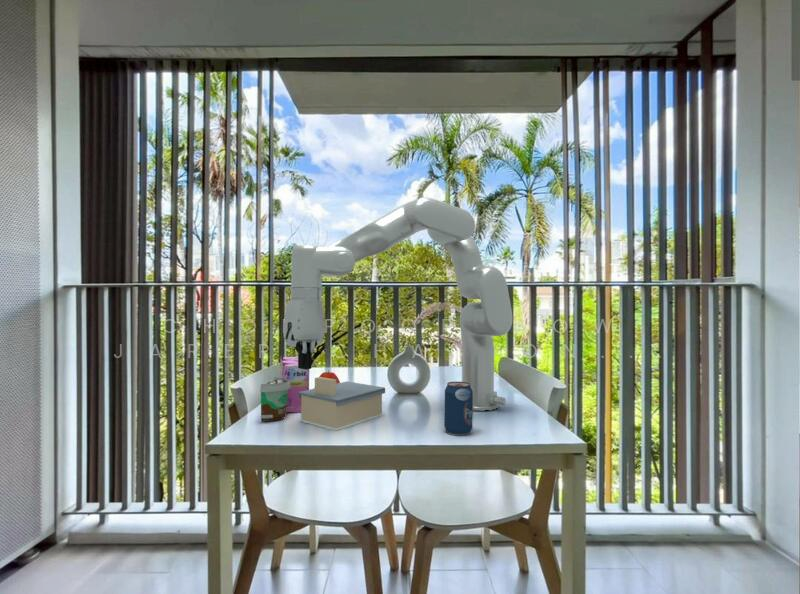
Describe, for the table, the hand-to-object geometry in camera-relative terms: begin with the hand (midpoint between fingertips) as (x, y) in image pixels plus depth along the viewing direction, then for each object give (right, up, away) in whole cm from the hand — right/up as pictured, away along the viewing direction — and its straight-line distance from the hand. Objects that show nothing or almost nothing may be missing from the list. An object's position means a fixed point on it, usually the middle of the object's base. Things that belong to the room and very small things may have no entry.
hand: (304, 368), depth 114 cm
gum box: (-9, -15, +27) cm, 32 cm away
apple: (+2, -15, +26) cm, 30 cm away
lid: (+8, -9, +11) cm, 16 cm away
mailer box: (+8, -15, +11) cm, 20 cm away
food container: (-10, -15, +11) cm, 21 cm away
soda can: (+38, -16, -1) cm, 41 cm away
